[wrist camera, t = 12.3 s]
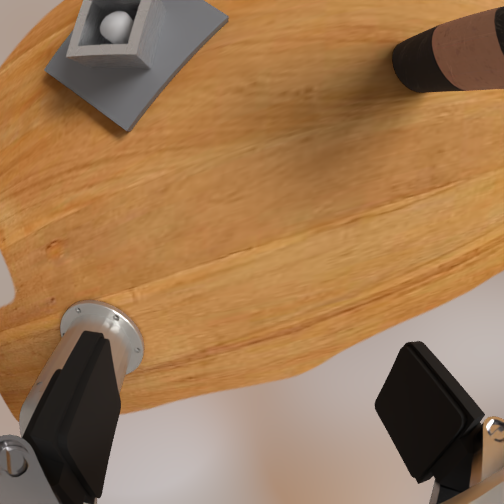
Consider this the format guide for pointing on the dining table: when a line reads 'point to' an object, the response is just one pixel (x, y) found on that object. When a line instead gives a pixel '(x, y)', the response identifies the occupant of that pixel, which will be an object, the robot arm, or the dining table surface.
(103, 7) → the grey hollow block
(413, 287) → the dining table surface
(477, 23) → the travel mug
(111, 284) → the dining table surface
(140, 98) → the plate
